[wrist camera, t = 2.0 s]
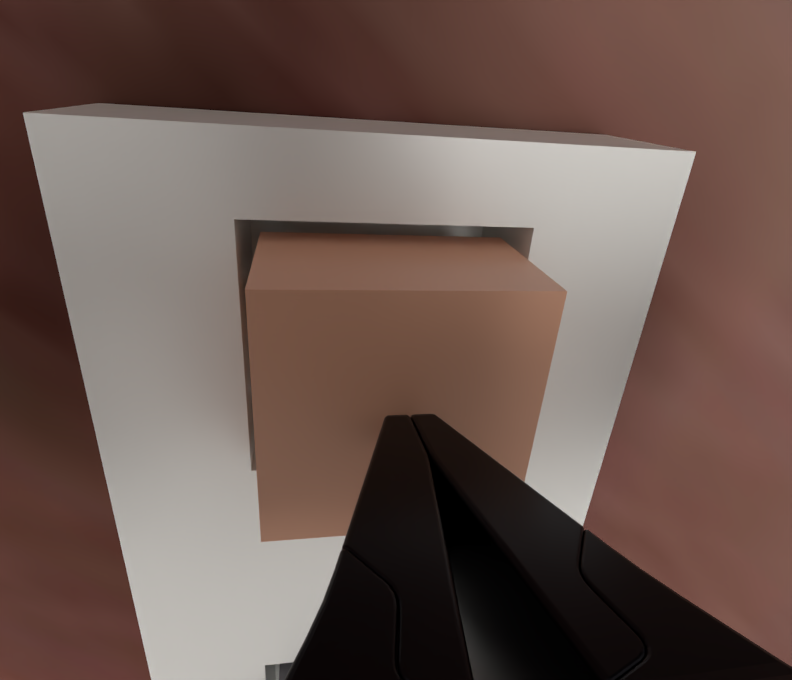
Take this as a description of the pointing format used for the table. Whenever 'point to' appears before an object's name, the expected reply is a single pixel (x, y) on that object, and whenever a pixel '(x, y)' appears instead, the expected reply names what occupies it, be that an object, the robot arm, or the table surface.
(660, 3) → the table surface
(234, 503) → the white base plate
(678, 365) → the table surface
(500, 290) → the key
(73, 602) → the table surface
